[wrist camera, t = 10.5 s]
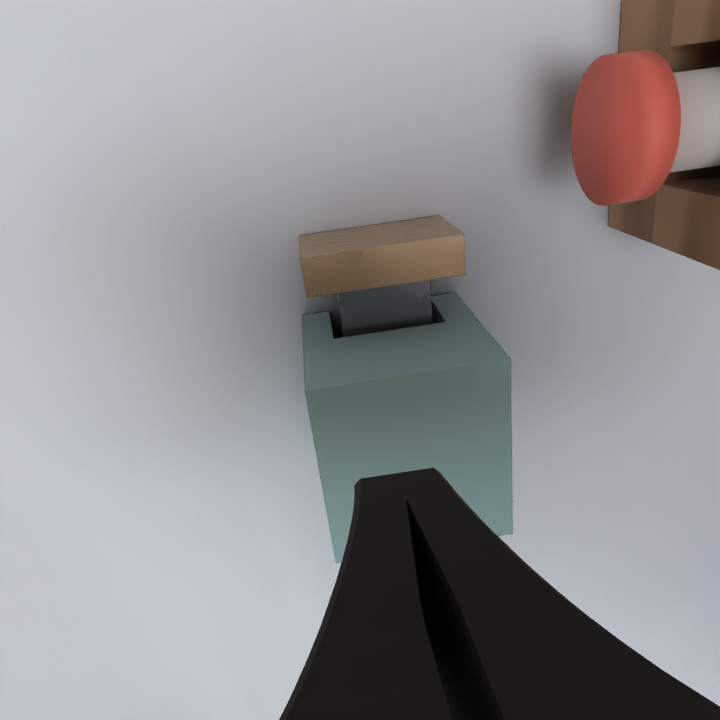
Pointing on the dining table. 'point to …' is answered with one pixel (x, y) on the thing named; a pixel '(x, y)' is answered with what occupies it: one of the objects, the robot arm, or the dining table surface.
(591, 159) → the plunger
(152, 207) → the dining table surface
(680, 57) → the cabinet
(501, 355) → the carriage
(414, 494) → the robot arm
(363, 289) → the rail
